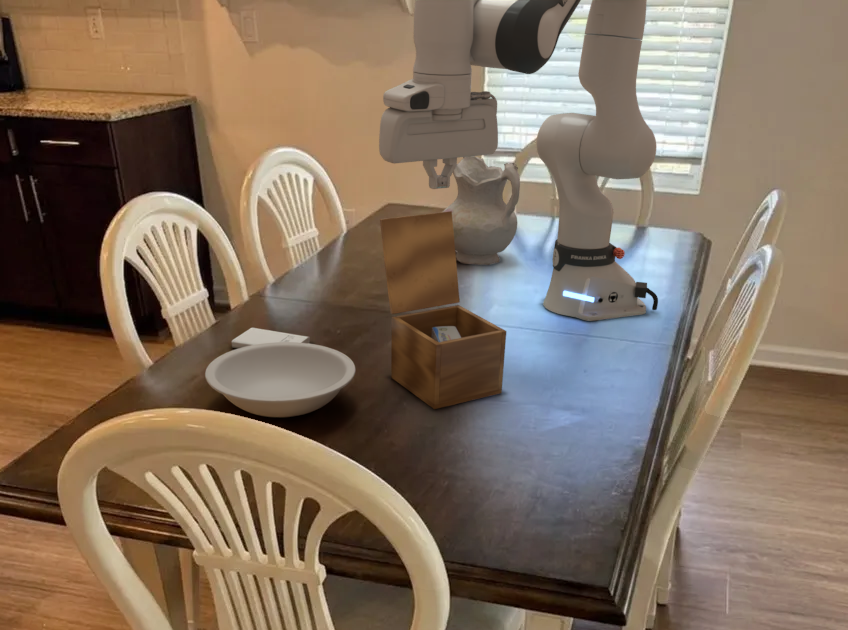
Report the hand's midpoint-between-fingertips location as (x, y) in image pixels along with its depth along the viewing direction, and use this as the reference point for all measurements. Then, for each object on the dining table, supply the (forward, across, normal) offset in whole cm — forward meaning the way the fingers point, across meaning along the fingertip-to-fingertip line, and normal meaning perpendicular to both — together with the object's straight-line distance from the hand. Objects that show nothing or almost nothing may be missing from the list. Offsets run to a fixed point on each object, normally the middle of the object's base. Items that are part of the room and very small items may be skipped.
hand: (439, 187), depth 136 cm
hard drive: (+33, +20, -27) cm, 47 cm away
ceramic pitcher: (+34, -50, -57) cm, 83 cm away
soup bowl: (+33, +29, -1) cm, 44 cm away
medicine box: (+32, 0, +4) cm, 32 cm away
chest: (+33, 0, +5) cm, 33 cm away
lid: (+13, 0, -4) cm, 14 cm away
